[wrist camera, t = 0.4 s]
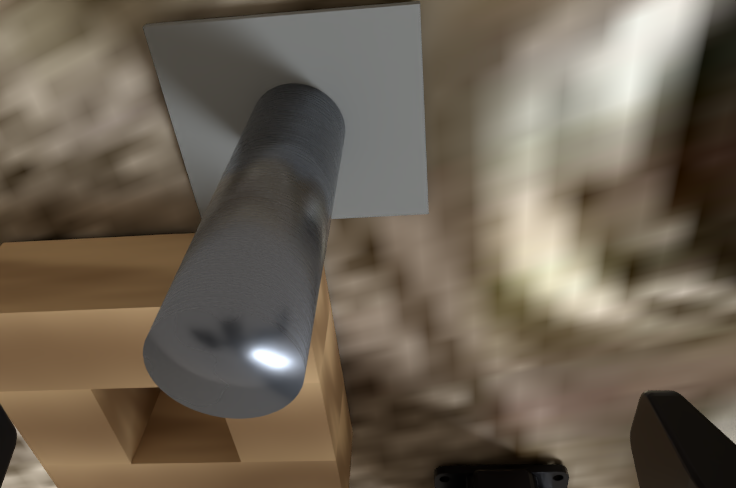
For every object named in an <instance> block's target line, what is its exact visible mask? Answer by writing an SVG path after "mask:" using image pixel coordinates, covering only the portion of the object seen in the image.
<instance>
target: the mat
mask: <svg viewBox="0 0 736 488" xmlns="http://www.w3.org/2000/svg"><path fill="white" fill-rule="evenodd" d="M143 30H144V33H145V36H146V40H147V43H148V46H149V49H150V53H151V56H152V59H153V62H154V66H155V69H156V72H157V75H158V79H159V82H160V85H161V89H162V92H163V95H164V98H165V102H166V105H167V108H168V111H169V115H170V118H171V121H172V124H173V128H174V131H175V134H176V137H177V141H178V144H179V147H180V151H181V154H182V157H183V160H184V164H185V167H186V170H187V173H188V177H189V180H190V183H191V186H192V190H193V193H194V196H195V199H196V203H197V206H198V209H199V213H200V216H201V219H202V218H203V216H204V213H205V211H206V209H207V207H208V205H209V203H210V201H211V198H212V196H213V194H214V192H215V190H216V188H217V186H218V184H219V181H220V179H221V177H222V175H223V173H224V171H225V169H226V166H227V164H228V162H229V160H230V158H231V156H232V154H233V152H234V149H235V147H236V145H237V143H238V141H239V139H240V137H241V134H242V132H243V130H244V128H245V126H246V124H247V122H248V120H249V117H250V115H251V113H252V111H253V109H254V107H255V105H256V103H257V101H258V100H259V99H260V98H261V96H262V95H264V94H265V93H266V92H267V91H269V90H270V89H272V88H274V87H277V86H279V85H283V84H289V83H298V84H305V85H309V86H312V87H314V88H317V89H319V90H320V91H322V92H324V93H325V94H327V95H328V96H329V97H330V98H331V99H332V100H333V101H334V102H335V103H336V105H337V106H338V108H339V109H340V111H341V113H342V116H343V119H344V123H345V139H344V145H343V151H342V157H341V163H340V169H339V175H338V181H337V187H336V193H335V199H334V205H333V211H332V217H331V219H340V218H359V217H378V216H397V215H416V214H429V212H428V188H427V164H426V139H425V115H424V91H423V67H422V43H421V19H420V1H413V2H401V3H389V4H378V5H366V6H354V7H342V8H330V9H318V10H306V11H294V12H283V13H271V14H259V15H247V16H235V17H223V18H211V19H199V20H188V21H176V22H164V23H152V24H146V25H145V26H143Z"/></svg>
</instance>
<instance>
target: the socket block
mask: <svg viewBox="0 0 736 488" xmlns="http://www.w3.org/2000/svg"><path fill="white" fill-rule="evenodd" d="M194 235H195V233H184V234H164V235H145V236H125V237H106V238H86V239H67V240H47V241H28V242H8V243H3V244H2V245H1V246H0V404H1V405H2V407H3V409H4V410H5V412H6V413H7V415H8V417H9V418H10V419H11V421H12V422H13V424H14V425H15V427H16V428H17V430H18V431H19V433H20V434H21V435H22V437H23V438H24V440H25V441H26V443H27V444H28V446H29V447H30V448H31V450H32V451H33V453H34V454H35V456H36V457H37V459H38V460H39V461H40V463H41V464H42V466H43V467H44V469H45V470H46V472H47V473H48V475H49V476H50V477H51V479H52V480H53V482H54V483H55V485H56V486H57V488H349V478H350V465H351V452H352V439H353V431H352V425H351V419H350V414H349V408H348V402H347V396H346V391H345V385H344V379H343V373H342V367H341V362H340V356H339V350H338V344H337V339H336V333H335V327H334V321H333V315H332V310H331V304H330V298H329V292H328V287H327V281H326V275H325V269H324V265H323V271H322V277H321V283H320V289H319V295H318V301H317V307H316V313H315V319H314V325H313V331H312V337H311V343H310V349H309V355H308V361H307V367H306V373H305V379H304V383H303V386H302V388H301V390H300V392H299V394H298V395H297V397H296V398H295V399H294V400H293V401H292V402H291V403H290V404H288V405H287V406H285V407H284V408H282V409H280V410H278V411H276V412H274V413H271V414H269V415H265V416H261V417H255V418H245V419H232V418H222V417H217V416H212V415H208V414H204V413H201V412H198V411H195V410H193V409H190V408H188V407H186V406H184V405H182V404H180V403H179V402H177V401H175V400H174V399H172V398H171V397H169V396H168V395H167V394H166V393H164V392H163V391H162V390H161V389H160V388H159V387H158V386H157V385H156V384H155V382H154V381H153V380H152V378H151V377H150V375H149V373H148V371H147V369H146V367H145V364H144V359H143V346H144V342H145V339H146V337H147V335H148V333H149V331H150V329H151V326H152V324H153V322H154V320H155V318H156V316H157V314H158V312H159V309H160V307H161V305H162V303H163V301H164V299H165V297H166V294H167V292H168V290H169V288H170V286H171V284H172V282H173V280H174V277H175V275H176V273H177V271H178V269H179V267H180V265H181V262H182V260H183V258H184V256H185V254H186V252H187V250H188V248H189V245H190V243H191V241H192V239H193V237H194Z"/></svg>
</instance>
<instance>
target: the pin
mask: <svg viewBox="0 0 736 488" xmlns="http://www.w3.org/2000/svg"><path fill="white" fill-rule="evenodd" d="M344 139H345V123H344V119H343V116H342V113H341V111H340V109H339V108H338V106H337V105H336V103H335V102H334V101H333V100H332V99H331V98H330V97H329V96H328V95H327V94H325V93H324V92H322V91H320V90H319V89H317V88H314V87H312V86H309V85H305V84H298V83H289V84H283V85H279V86H277V87H274V88H272V89H270V90H269V91H267V92H266V93H265V94H264V95H262V96H261V98H260V99H259V100H258V101H257V103H256V105H255V107H254V109H253V111H252V113H251V115H250V117H249V120H248V122H247V124H246V126H245V128H244V130H243V132H242V134H241V137H240V139H239V141H238V143H237V145H236V147H235V149H234V152H233V154H232V156H231V158H230V160H229V162H228V164H227V166H226V169H225V171H224V173H223V175H222V177H221V179H220V181H219V184H218V186H217V188H216V190H215V192H214V194H213V196H212V198H211V201H210V203H209V205H208V207H207V209H206V211H205V213H204V216H203V218H202V220H201V222H200V224H199V226H198V228H197V230H196V233H195V235H194V237H193V239H192V241H191V243H190V245H189V248H188V250H187V252H186V254H185V256H184V258H183V260H182V262H181V265H180V267H179V269H178V271H177V273H176V275H175V277H174V280H173V282H172V284H171V286H170V288H169V290H168V292H167V294H166V297H165V299H164V301H163V303H162V305H161V307H160V309H159V312H158V314H157V316H156V318H155V320H154V322H153V324H152V326H151V329H150V331H149V333H148V335H147V337H146V339H145V342H144V346H143V359H144V364H145V367H146V369H147V371H148V373H149V375H150V377H151V378H152V380H153V381H154V382H155V384H156V385H157V386H158V387H159V388H160V389H161V390H162V391H163V392H164V393H166V394H167V395H168V396H169V397H171V398H172V399H174V400H175V401H177V402H179V403H180V404H182V405H184V406H186V407H188V408H190V409H193V410H195V411H198V412H201V413H204V414H208V415H212V416H217V417H222V418H232V419H245V418H255V417H261V416H265V415H269V414H271V413H274V412H276V411H278V410H280V409H282V408H284V407H285V406H287V405H288V404H290V403H291V402H292V401H293V400H294V399H295V398H296V397H297V395H298V394H299V392H300V390H301V388H302V386H303V383H304V379H305V373H306V367H307V361H308V355H309V349H310V343H311V337H312V331H313V325H314V319H315V313H316V307H317V301H318V295H319V289H320V283H321V277H322V271H323V265H324V259H325V253H326V247H327V241H328V235H329V229H330V223H331V217H332V211H333V205H334V199H335V193H336V187H337V181H338V175H339V169H340V163H341V157H342V151H343V145H344Z"/></svg>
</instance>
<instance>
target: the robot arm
mask: <svg viewBox="0 0 736 488" xmlns="http://www.w3.org/2000/svg"><path fill="white" fill-rule="evenodd" d="M16 440H17V433H16V429H15V427H14V425H13V423H12V422H11V420H10V418H9V417H8V415H7V413H6V412H5V410H4V409H3V407H2V405H1V404H0V488H1V486H2V483H3V480H4V477H5V474H6V472H7V469H8V466H9V463H10V460H11V457H12V455H13V452H14V449H15V445H16ZM630 443H631V449H632V454H633V459H634V463H635V468H636V472H637V477H638V482H639V486H640V488H736V444H734V443H733V442H732V441H731V440H730V439H729V438H728V437H727V436H726V435H725V434H723V433H722V432H721V431H720V430H719V429H718V428H717V427H716V426H715V425H714V424H713V423H711V422H710V421H709V420H708V419H707V418H706V417H705V416H704V415H703V414H702V413H700V412H699V411H698V410H697V409H696V408H695V407H694V406H693V405H692V404H691V403H690V402H688V401H687V400H686V399H685V398H684V397H683V396H682V395H680V394H679V393H677V392H675V391H645V392H644V393H643V394H642V395H641V397H640V399H639V402H638V406H637V409H636V413H635V416H634V420H633V423H632V427H631V431H630ZM434 479H435V488H567V485H568V480H569V476H568V472H567V468H566V467H565V466H563V465H492V466H442V467H438V468H436V469H435V471H434Z"/></svg>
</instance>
